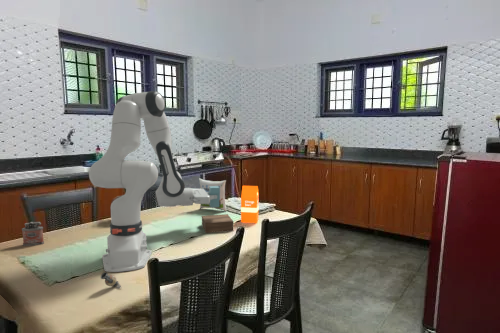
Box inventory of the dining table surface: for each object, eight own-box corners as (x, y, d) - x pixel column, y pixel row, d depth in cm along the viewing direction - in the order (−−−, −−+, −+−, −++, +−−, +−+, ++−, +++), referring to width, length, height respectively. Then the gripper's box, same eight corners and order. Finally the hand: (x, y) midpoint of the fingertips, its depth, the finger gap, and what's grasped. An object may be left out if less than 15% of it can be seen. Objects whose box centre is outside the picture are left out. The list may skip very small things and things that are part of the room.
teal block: (219, 206, 170) (219, 187, 169) (210, 207, 169) (210, 188, 168) (217, 204, 175) (217, 186, 174) (209, 205, 174) (209, 186, 172)
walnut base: (233, 230, 169) (233, 221, 168) (205, 233, 165) (205, 223, 164) (227, 223, 182) (227, 214, 181) (201, 225, 178) (201, 215, 177)
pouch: (203, 207, 217) (203, 177, 215) (229, 210, 209) (229, 179, 207) (196, 209, 210) (196, 178, 208) (222, 213, 202) (222, 181, 200)
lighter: (21, 246, 145) (20, 224, 144) (24, 243, 148) (23, 221, 147) (42, 244, 147) (41, 222, 146) (45, 242, 150) (43, 220, 149)
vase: (104, 294, 104) (102, 276, 104) (99, 289, 108) (97, 271, 108) (121, 289, 107) (120, 271, 107) (116, 284, 112) (114, 267, 111)
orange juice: (256, 223, 182) (257, 187, 180) (240, 222, 183) (240, 186, 181) (258, 219, 190) (258, 184, 187) (243, 218, 191) (243, 184, 189)
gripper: (191, 194, 157) (219, 193, 161) (186, 187, 177) (212, 185, 181) (191, 207, 158) (219, 206, 162) (186, 198, 178) (212, 197, 182)
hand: (215, 195), depth 172 cm, fingers closed on teal block, 4 cm apart
